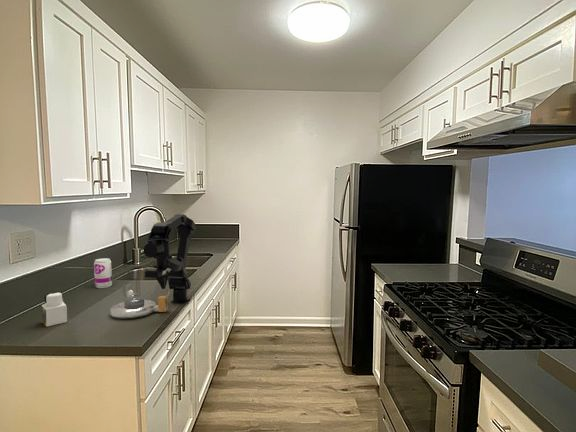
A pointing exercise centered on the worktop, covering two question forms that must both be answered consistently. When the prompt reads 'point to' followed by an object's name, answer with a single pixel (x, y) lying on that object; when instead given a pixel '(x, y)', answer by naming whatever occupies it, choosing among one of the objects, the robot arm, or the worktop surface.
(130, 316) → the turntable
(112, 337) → the worktop surface
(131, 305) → the cover
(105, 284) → the supplement can
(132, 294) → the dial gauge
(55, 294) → the medicine bottle
